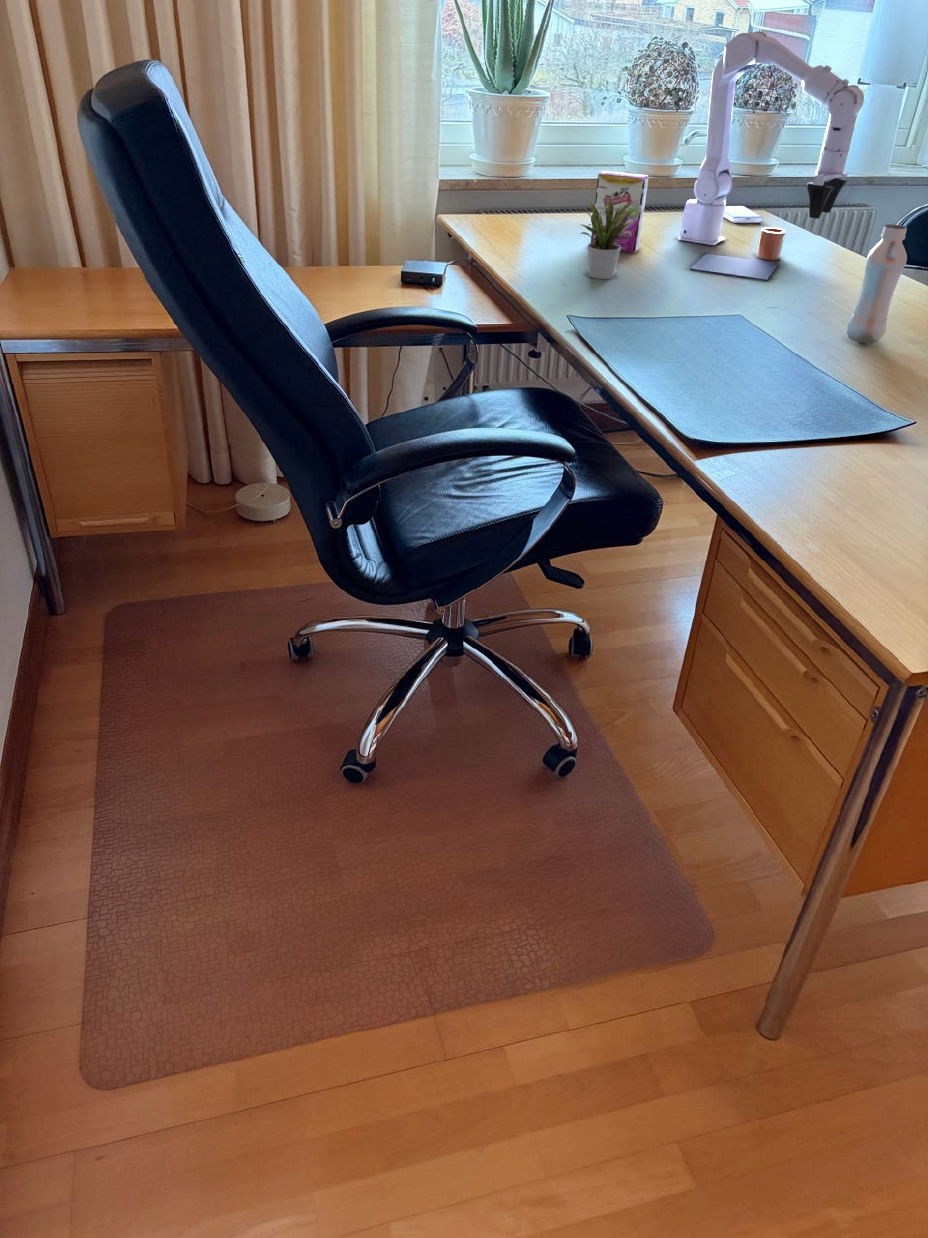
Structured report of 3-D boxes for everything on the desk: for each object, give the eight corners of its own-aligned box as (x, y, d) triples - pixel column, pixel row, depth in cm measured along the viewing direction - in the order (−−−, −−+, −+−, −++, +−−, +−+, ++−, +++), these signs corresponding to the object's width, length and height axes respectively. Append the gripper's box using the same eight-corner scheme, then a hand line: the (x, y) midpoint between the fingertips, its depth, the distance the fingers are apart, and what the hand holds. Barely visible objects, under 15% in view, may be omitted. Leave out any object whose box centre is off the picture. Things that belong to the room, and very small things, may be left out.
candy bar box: (589, 248, 219) (596, 173, 209) (593, 243, 222) (601, 169, 213) (635, 253, 216) (645, 178, 206) (639, 248, 220) (649, 174, 210)
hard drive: (716, 206, 253) (733, 216, 244) (744, 205, 255) (762, 216, 245) (715, 212, 254) (732, 222, 244) (743, 211, 255) (761, 222, 246)
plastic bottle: (837, 335, 171) (868, 221, 160) (872, 335, 172) (905, 222, 160) (852, 347, 166) (885, 230, 154) (888, 347, 167) (923, 231, 155)
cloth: (690, 269, 206) (690, 268, 206) (706, 254, 217) (706, 253, 217) (766, 280, 200) (766, 279, 200) (778, 264, 211) (779, 263, 211)
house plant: (647, 272, 203) (658, 193, 193) (629, 288, 193) (640, 205, 183) (586, 263, 208) (594, 185, 198) (565, 278, 197) (573, 197, 188)
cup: (753, 257, 216) (758, 230, 212) (760, 252, 220) (766, 226, 216) (775, 261, 214) (781, 233, 210) (782, 256, 217) (788, 229, 214)
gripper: (843, 155, 195) (826, 223, 203) (863, 147, 205) (846, 212, 213) (810, 151, 199) (795, 218, 207) (831, 143, 208) (816, 207, 216)
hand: (819, 214), depth 210 cm, fingers open, 7 cm apart
